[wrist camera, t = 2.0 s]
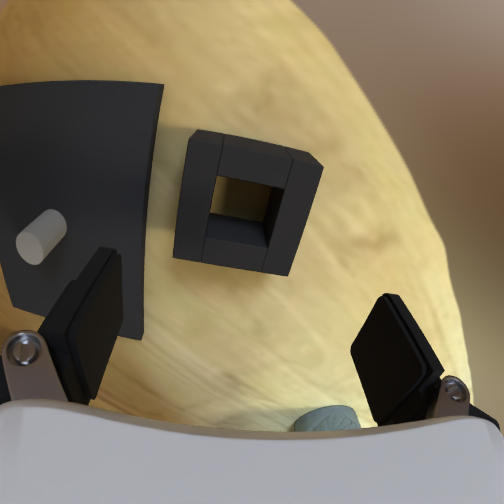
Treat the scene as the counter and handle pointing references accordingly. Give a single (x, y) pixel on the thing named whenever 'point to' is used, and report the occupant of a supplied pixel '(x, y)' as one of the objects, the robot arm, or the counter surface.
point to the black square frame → (236, 229)
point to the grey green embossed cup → (328, 420)
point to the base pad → (75, 186)
